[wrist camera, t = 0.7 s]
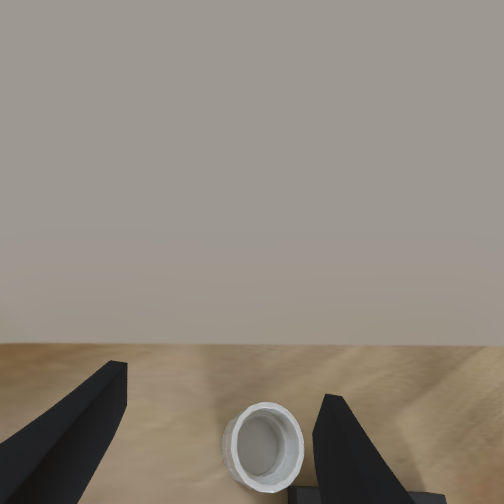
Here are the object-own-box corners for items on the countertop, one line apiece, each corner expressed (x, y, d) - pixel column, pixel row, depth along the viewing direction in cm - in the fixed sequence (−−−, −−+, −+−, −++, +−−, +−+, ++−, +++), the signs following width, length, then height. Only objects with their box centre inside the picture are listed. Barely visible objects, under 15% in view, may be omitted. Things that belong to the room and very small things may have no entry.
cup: (283, 488, 24) (306, 494, 20) (217, 485, 23) (227, 490, 19) (283, 412, 27) (302, 405, 23) (224, 406, 26) (234, 398, 22)
